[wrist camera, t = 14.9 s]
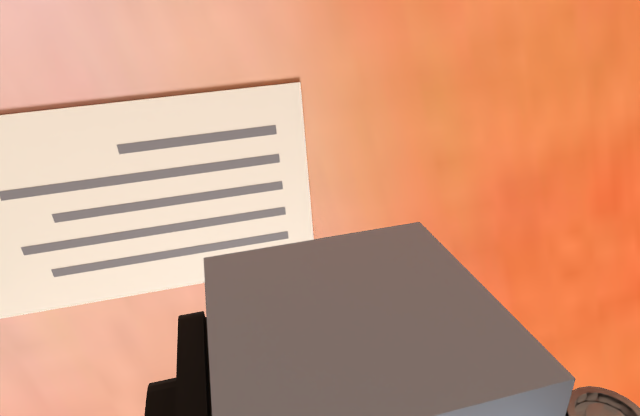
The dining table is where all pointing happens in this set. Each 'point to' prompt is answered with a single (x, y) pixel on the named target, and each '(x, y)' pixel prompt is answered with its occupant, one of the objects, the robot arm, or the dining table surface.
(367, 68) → the dining table surface
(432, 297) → the cube
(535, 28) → the dining table surface
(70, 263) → the letter
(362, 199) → the dining table surface
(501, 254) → the dining table surface
